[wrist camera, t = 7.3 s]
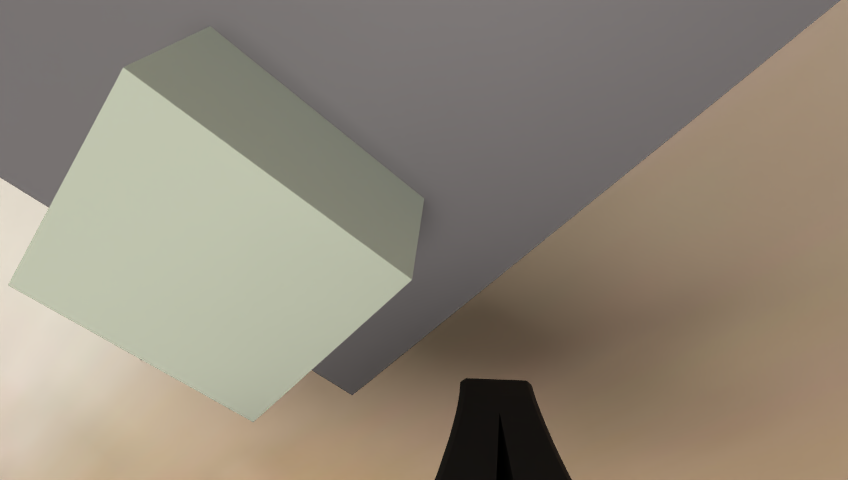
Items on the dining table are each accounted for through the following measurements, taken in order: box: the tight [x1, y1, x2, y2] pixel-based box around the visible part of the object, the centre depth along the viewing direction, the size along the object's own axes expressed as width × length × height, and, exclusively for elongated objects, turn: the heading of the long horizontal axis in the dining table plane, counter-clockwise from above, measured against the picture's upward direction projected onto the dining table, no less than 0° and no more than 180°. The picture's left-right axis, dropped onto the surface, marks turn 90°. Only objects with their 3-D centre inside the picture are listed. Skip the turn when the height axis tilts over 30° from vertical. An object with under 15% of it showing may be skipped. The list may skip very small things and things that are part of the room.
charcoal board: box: [0, 0, 840, 395], centre depth 9 cm, size 10×14×2 cm
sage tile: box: [8, 26, 424, 422], centre depth 9 cm, size 4×4×2 cm
